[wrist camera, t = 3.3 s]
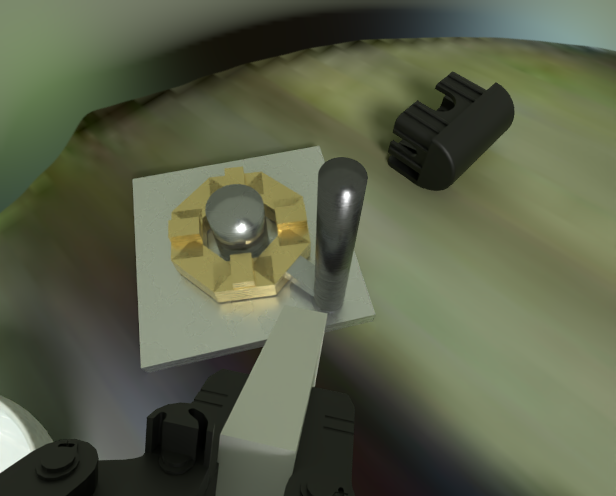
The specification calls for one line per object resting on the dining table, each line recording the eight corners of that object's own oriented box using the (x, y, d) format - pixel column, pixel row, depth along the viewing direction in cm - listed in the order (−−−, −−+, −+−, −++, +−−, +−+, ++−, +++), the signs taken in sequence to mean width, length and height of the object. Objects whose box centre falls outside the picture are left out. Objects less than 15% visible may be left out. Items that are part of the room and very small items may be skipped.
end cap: (440, 207, 40) (463, 159, 34) (382, 166, 43) (394, 115, 37) (497, 150, 44) (527, 97, 38) (440, 115, 46) (460, 61, 40)
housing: (318, 156, 43) (320, 105, 38) (372, 321, 35) (385, 288, 29) (138, 188, 41) (111, 141, 35) (147, 372, 33) (114, 348, 27)
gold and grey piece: (150, 251, 36) (59, 113, 23) (236, 169, 40) (202, 13, 27) (298, 362, 31) (292, 271, 18) (378, 256, 36) (420, 121, 22)
